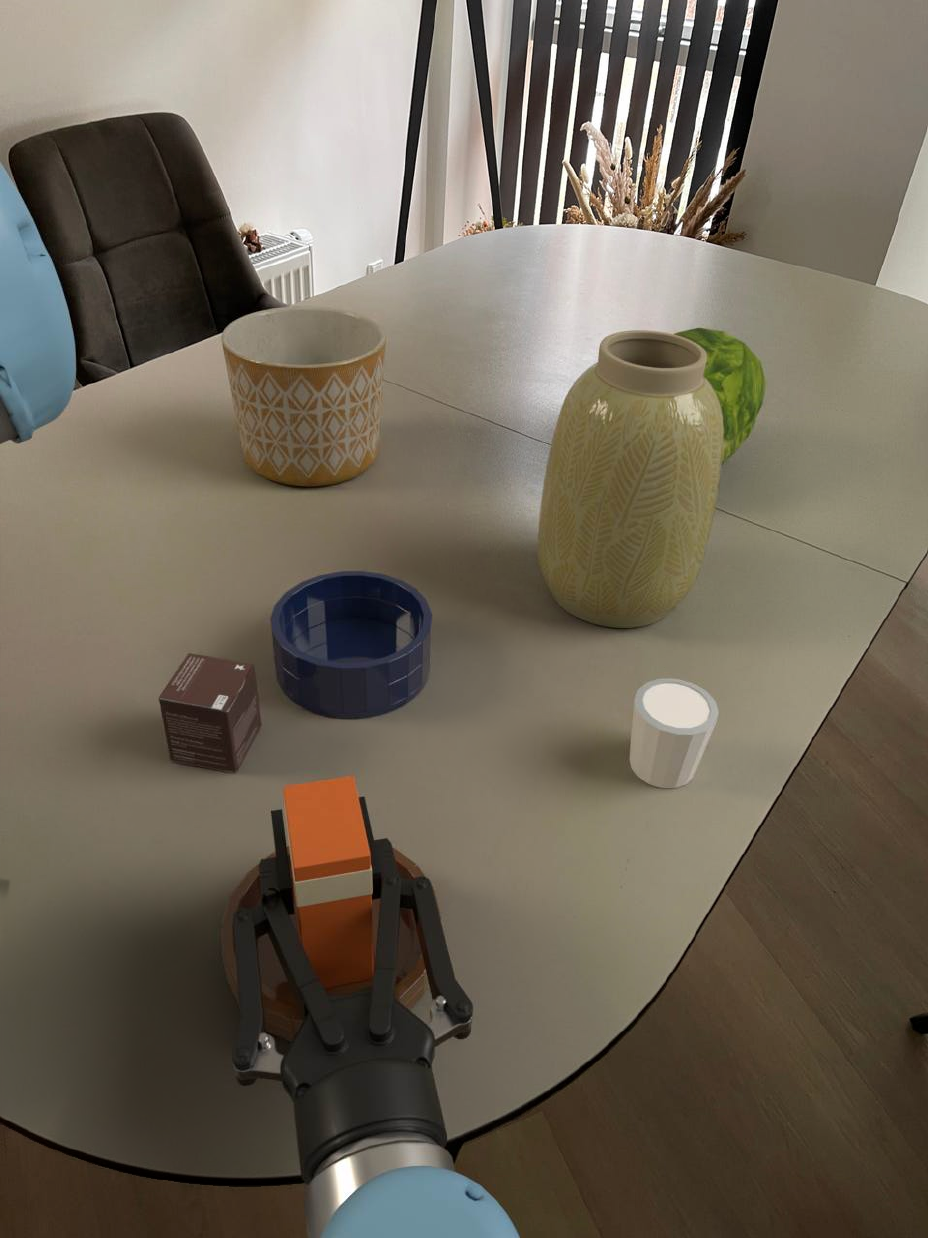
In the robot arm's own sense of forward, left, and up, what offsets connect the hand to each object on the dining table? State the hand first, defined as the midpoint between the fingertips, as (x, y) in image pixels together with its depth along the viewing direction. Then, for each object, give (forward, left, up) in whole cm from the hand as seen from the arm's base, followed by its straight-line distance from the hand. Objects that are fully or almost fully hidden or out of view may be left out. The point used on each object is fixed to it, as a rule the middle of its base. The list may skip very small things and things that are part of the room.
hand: (319, 817), depth 65 cm
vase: (+35, +32, -8) cm, 48 cm away
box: (-7, +17, -8) cm, 20 cm away
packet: (0, -5, -7) cm, 9 cm away
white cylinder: (+30, +7, -8) cm, 32 cm away
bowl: (0, -5, -8) cm, 10 cm away
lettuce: (+53, +56, -8) cm, 77 cm away
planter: (+7, +67, -8) cm, 68 cm away
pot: (+6, +25, -8) cm, 27 cm away
